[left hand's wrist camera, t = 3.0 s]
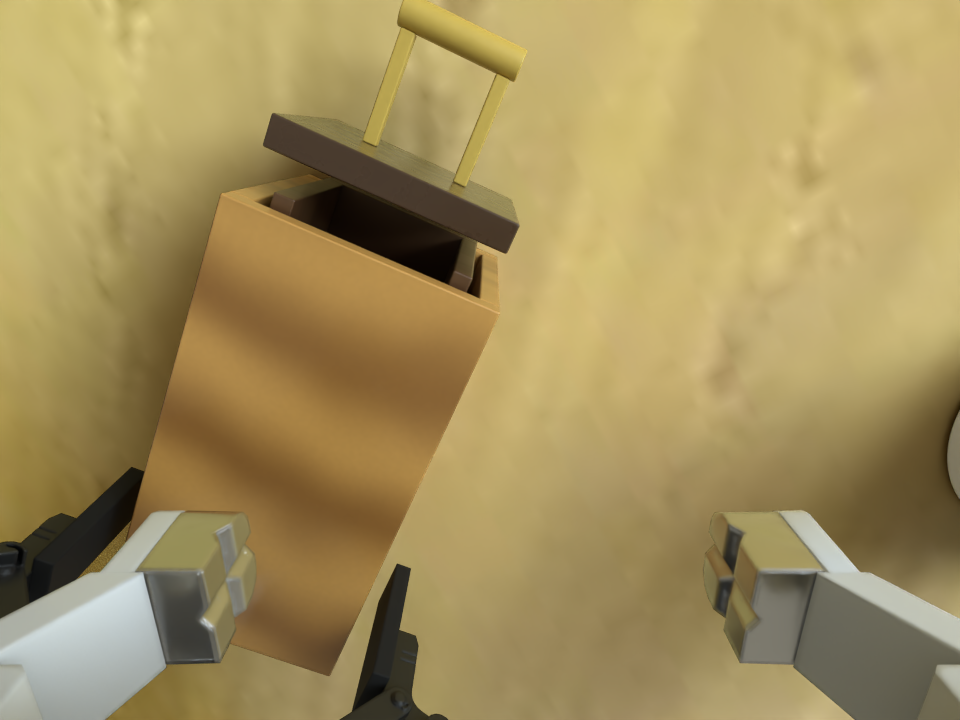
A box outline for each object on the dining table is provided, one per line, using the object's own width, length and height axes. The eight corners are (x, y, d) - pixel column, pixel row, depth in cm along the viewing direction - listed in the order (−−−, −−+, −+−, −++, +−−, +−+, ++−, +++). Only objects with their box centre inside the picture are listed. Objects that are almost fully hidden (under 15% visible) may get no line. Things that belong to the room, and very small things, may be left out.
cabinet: (309, 173, 31) (219, 192, 21) (497, 256, 32) (500, 313, 22) (212, 476, 37) (107, 603, 27) (371, 534, 39) (329, 677, 28)
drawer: (376, -9, 27) (325, -74, 19) (563, 83, 28) (594, 61, 20) (233, 430, 35) (152, 524, 27) (384, 487, 36) (351, 594, 28)
